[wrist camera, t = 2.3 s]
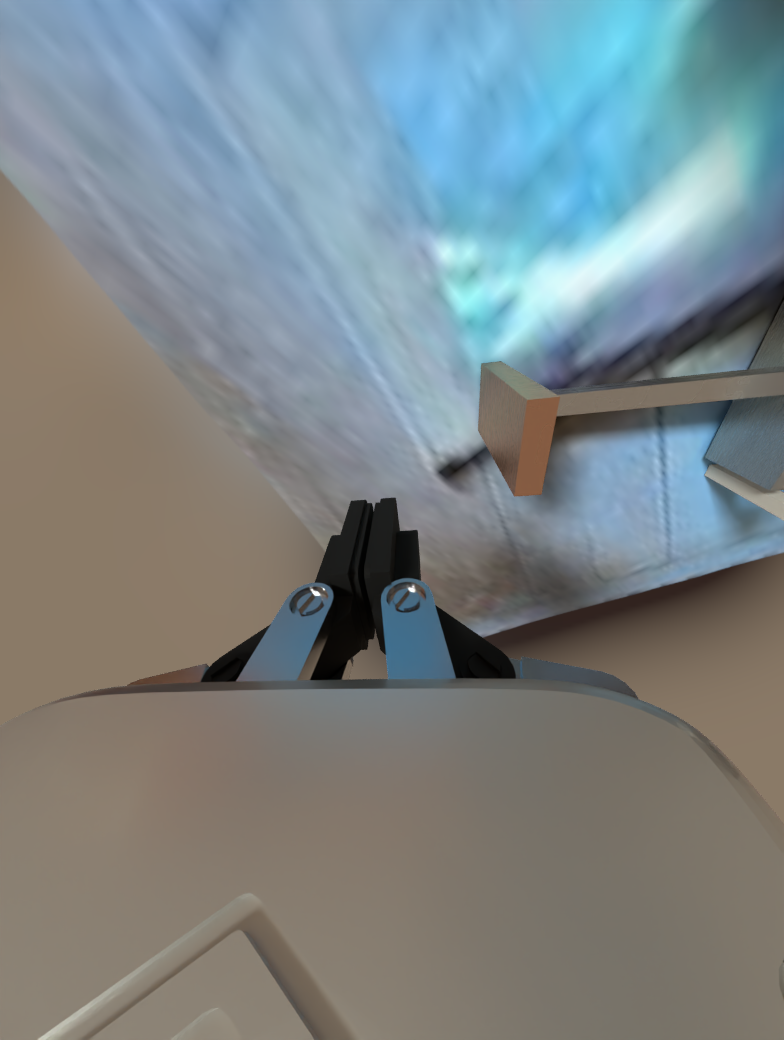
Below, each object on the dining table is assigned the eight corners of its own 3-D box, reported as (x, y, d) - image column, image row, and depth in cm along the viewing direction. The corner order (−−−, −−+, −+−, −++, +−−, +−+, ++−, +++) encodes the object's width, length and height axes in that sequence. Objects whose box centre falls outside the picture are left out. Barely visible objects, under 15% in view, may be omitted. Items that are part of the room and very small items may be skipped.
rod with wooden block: (484, 296, 20) (542, 287, 11) (827, 249, 18) (1222, 194, 9) (475, 474, 27) (506, 552, 19) (718, 455, 25) (881, 533, 17)
